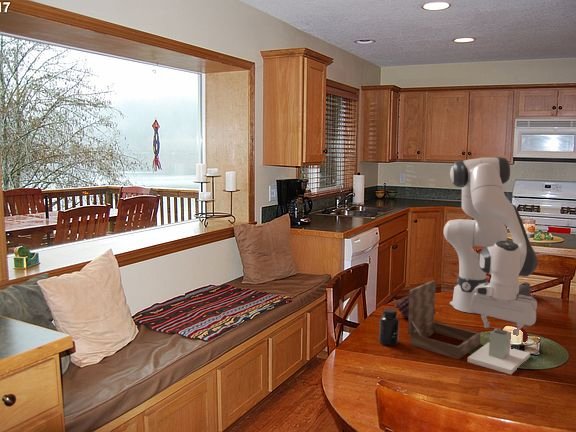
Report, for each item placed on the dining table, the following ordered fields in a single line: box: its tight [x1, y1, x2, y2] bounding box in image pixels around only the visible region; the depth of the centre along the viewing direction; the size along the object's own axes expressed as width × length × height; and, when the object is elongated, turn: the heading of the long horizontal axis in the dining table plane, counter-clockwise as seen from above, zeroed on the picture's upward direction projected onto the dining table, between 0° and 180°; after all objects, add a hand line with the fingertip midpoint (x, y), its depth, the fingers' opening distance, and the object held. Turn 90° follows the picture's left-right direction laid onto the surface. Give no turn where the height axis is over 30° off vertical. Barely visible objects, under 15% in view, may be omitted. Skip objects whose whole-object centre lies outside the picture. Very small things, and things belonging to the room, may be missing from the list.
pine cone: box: [394, 295, 436, 319], centre depth 212 cm, size 18×10×10 cm, turn 52°
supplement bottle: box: [378, 308, 400, 346], centre depth 186 cm, size 7×7×12 cm
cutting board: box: [467, 341, 531, 376], centre depth 173 cm, size 18×14×2 cm
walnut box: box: [407, 279, 482, 360], centre depth 184 cm, size 18×19×20 cm
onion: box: [515, 326, 529, 343], centre depth 183 cm, size 6×6×8 cm
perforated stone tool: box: [519, 281, 532, 296], centre depth 239 cm, size 15×5×7 cm, turn 139°
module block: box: [488, 328, 511, 359], centre depth 172 cm, size 5×5×8 cm
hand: (501, 331), depth 172 cm, fingers open, 8 cm apart
